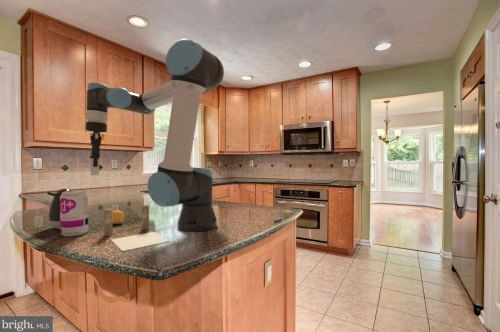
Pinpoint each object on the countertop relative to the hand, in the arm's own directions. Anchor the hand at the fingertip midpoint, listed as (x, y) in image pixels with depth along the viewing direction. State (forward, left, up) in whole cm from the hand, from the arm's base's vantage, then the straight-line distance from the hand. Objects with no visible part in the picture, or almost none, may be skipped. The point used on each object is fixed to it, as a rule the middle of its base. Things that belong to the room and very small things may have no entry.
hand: (94, 173), depth 105 cm
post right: (-23, -13, -21) cm, 34 cm away
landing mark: (-37, -7, -21) cm, 43 cm away
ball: (-7, -7, -18) cm, 21 cm away
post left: (-23, 0, -21) cm, 31 cm away
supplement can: (-13, +8, -21) cm, 26 cm away
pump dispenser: (0, +10, -21) cm, 23 cm away
